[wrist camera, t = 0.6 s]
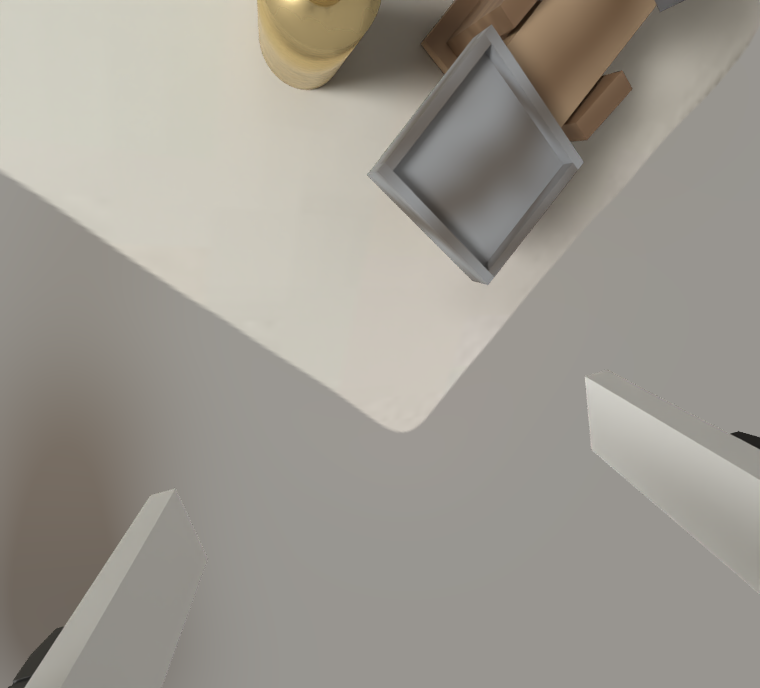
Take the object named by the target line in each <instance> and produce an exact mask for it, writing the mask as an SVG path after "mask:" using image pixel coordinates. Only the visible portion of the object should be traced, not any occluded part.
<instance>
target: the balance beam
mask: <svg viewBox="0 0 760 688" xmlns="http://www.w3.org/2000/svg"><path fill="white" fill-rule="evenodd" d="M682 1H684V0H538V1H537V2H536V3H535V4H534V5H533V7H532V8H531V9H530V10H529V11H528V13H527V14H526V15H525V16H524V17H523V19H522V20H521V21H520V22H519V24H518V25H517V26H516V27H515V28H514V29H512V30H511V31H510V33H509V34H508V35H507V37H506V38H505V39H504V40H502V39H501V37H500V36H499V34H498V33H497V31H496V30H495V28H494V27H493V25H492V24H491V25H490V26H489V27H487V28H486V29H485V30H483V31H482V32H480V33H479V34H478V35H476V36H475V37H474V38H473V39H472V40H471V41H470V42H469V44H468V45H467V46H466V48H465V49H464V50H463V51H462V53H461V54H460V55H459V57H458V58H457V59H456V61H455V62H454V63H453V64H452V66H451V67H450V68H449V70H448V71H447V72H446V73H445V75H444V76H443V77H442V79H441V80H440V81H439V83H438V84H437V85H436V86H435V88H434V89H433V90H432V92H431V93H430V94H429V95H428V97H427V98H426V99H425V101H424V102H423V103H422V105H421V106H420V107H419V108H418V110H417V111H416V112H415V114H414V115H413V116H412V117H411V119H410V120H409V121H408V123H407V124H406V125H405V126H404V128H403V129H402V130H401V132H400V133H399V134H398V136H397V137H396V138H395V139H394V141H393V142H392V143H391V145H390V146H389V147H388V148H387V150H386V151H385V152H384V154H383V155H382V156H381V158H380V159H379V160H378V161H377V163H376V164H375V165H374V167H373V168H372V169H371V170H370V172H369V173H368V174H367V176H368V177H369V178H370V179H371V180H372V181H373V182H374V183H375V184H376V185H377V186H378V187H379V188H380V189H381V190H382V191H383V192H384V193H385V194H386V195H387V196H388V197H389V198H390V199H391V200H392V201H393V202H394V203H395V204H396V205H397V206H398V207H399V208H400V209H401V210H402V211H403V212H404V213H405V214H406V215H407V216H408V217H409V218H410V219H411V220H412V221H413V222H414V223H415V224H416V225H417V226H418V227H419V228H420V229H421V230H422V231H423V232H424V233H425V234H426V235H427V236H428V237H429V238H430V239H431V240H432V241H433V242H434V243H435V244H436V245H437V246H438V247H439V248H440V249H441V250H442V251H443V252H444V253H445V254H446V255H447V256H448V257H449V258H450V259H451V260H452V261H453V262H454V263H455V264H456V265H457V266H458V267H459V268H460V269H461V270H462V271H463V272H464V273H465V274H466V275H467V276H468V277H469V278H470V279H471V280H472V281H475V282H479V283H483V284H487V285H488V284H489V283H490V282H491V281H492V279H493V278H494V277H495V276H496V274H497V273H498V272H499V270H500V269H501V268H502V267H503V265H504V264H505V263H506V261H507V260H508V259H509V258H510V256H511V255H512V254H513V252H514V251H515V250H516V249H517V247H518V246H519V245H520V243H521V242H522V241H523V240H524V238H525V237H526V236H527V234H528V233H529V232H530V231H531V229H532V228H533V227H534V226H535V224H536V223H537V222H538V220H539V219H540V218H541V217H542V215H543V214H544V213H545V211H546V210H547V209H548V208H549V206H550V205H551V204H552V202H553V201H554V200H555V199H556V197H557V196H558V195H559V193H560V192H561V191H562V190H563V188H564V187H565V186H566V185H567V183H568V182H569V181H570V179H571V178H572V177H573V176H574V174H575V173H576V172H577V170H578V169H579V168H580V167H581V165H582V164H583V163H584V162H583V160H582V159H581V157H580V156H579V154H578V153H577V151H576V150H575V148H574V147H573V145H572V144H571V142H570V141H569V139H568V138H567V136H566V135H565V133H564V132H563V130H562V129H561V127H562V126H563V125H564V123H565V122H566V121H567V119H568V118H569V117H570V116H571V114H572V113H573V112H574V110H575V109H576V108H577V107H578V105H579V104H580V103H581V102H582V100H583V99H584V98H585V96H586V95H587V94H588V93H589V91H590V90H591V89H592V87H593V86H594V85H595V84H596V82H597V81H598V80H599V78H600V77H601V76H602V75H603V73H604V72H605V71H606V69H607V68H608V67H609V66H610V64H611V63H612V62H613V60H614V59H615V58H616V57H617V55H618V54H619V53H620V51H621V50H622V49H623V48H624V46H625V45H626V44H627V42H628V41H629V40H630V39H631V37H632V36H633V35H634V33H635V32H636V31H637V30H638V28H639V27H640V26H641V24H642V23H643V22H644V21H645V19H646V18H647V17H648V15H649V14H650V13H651V12H652V10H653V9H654V8H655V6H656V5H657V7H658V9H659V11H660V12H661V11H663V10H665V9H667V8H669V7H672V6H674V5H676V4H678V3H680V2H682Z"/></svg>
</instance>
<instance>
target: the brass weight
mask: <svg viewBox="0 0 760 688" xmlns="http://www.w3.org/2000/svg"><path fill="white" fill-rule="evenodd" d="M380 3H381V0H257V6H258V27H259V42H260V47H261V50H262V54H263V56H264V59H265V61H266V63H267V64H268V66H269V67H270V69H271V70H272V72H273V73H274V74H275V75H276V76H277V77H278V78H279V79H280V80H281V81H283V82H284V83H286V84H288V85H290V86H292V87H294V88H298V89H305V90H308V89H315V88H318V87H320V86H322V85H324V84H326V83H327V82H328V81H329V80H330V79H331V78H332V77H333V76H334V75H335V73H336V72H337V70H338V69H339V68H340V66H341V65H342V64H343V62H344V61H345V60H346V58H347V57H348V56H349V54H350V53H351V52H352V50H353V49H354V48H355V46H356V45H357V44H358V42H359V41H360V40H361V38H362V37H363V36H364V34H365V33H366V32H367V30H368V29H369V27H370V26H371V24H372V23H373V21H374V19H375V17H376V15H377V12H378V10H379V7H380Z"/></svg>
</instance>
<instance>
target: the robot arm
mask: <svg viewBox="0 0 760 688" xmlns="http://www.w3.org/2000/svg"><path fill="white" fill-rule="evenodd" d="M585 384H586V395H587V407H588V418H589V428H590V440H591V450H592V451H593V452H595V453H596V454H597V455H598V456H599V457H600V458H601V459H603V460H604V461H605V462H606V463H607V464H609V465H610V466H611V467H612V468H613V469H614V470H615V471H617V472H618V473H619V474H620V475H621V476H622V477H624V478H625V479H626V480H627V481H628V482H629V483H631V484H632V485H633V486H634V487H635V488H637V489H638V490H639V491H640V492H641V493H642V494H643V495H645V496H646V497H647V498H648V499H649V500H650V501H652V502H653V503H654V504H655V505H656V506H658V507H659V508H660V509H661V510H662V511H663V512H664V513H666V514H667V515H668V516H669V517H670V518H671V519H673V520H674V521H675V522H676V523H677V524H678V525H680V526H681V527H682V528H683V529H684V530H685V531H686V532H688V533H689V534H690V535H691V536H692V537H693V538H695V539H696V540H697V541H698V542H699V543H700V544H702V545H703V546H704V547H705V548H706V549H707V550H709V551H710V552H711V553H712V554H713V555H714V556H716V557H717V558H718V559H719V560H720V561H721V562H723V563H724V564H725V565H726V566H727V567H729V568H730V569H731V570H732V571H733V572H734V573H735V574H737V575H738V576H739V577H740V578H741V579H742V580H743V581H745V582H746V583H747V584H748V585H749V586H751V587H752V588H753V589H754V590H755V591H756V592H758V593H759V594H760V437H757V436H753V435H750V434H746V433H743V432H739V431H738V432H735V433H731V434H729V433H727V432H725V431H723V430H722V429H720V428H717V427H716V426H714V425H712V424H710V423H708V422H706V421H704V420H702V419H700V418H699V417H697V416H694V415H693V414H691V413H689V412H687V411H685V410H683V409H681V408H679V407H678V406H676V405H674V404H672V403H670V402H668V401H666V400H664V399H662V398H660V397H658V396H657V395H655V394H653V393H651V392H649V391H647V390H645V389H643V388H641V387H639V386H637V385H636V384H634V383H632V382H630V381H628V380H626V379H624V378H622V377H620V376H618V375H616V374H614V373H613V372H611V371H609V370H605V371H602V372H598V373H594V374H591V375H587V376H585ZM207 560H208V558H207V555H206V553H205V551H204V549H203V547H202V545H201V542H200V540H199V538H198V536H197V534H196V532H195V530H194V528H193V525H192V523H191V521H190V519H189V516H188V514H187V512H186V510H185V508H184V506H183V504H182V501H181V499H180V497H179V495H178V493H177V491H176V489H172V490H168V491H165V492H161V493H157V494H154V495H150V497H149V499H148V500H147V501H146V503H145V505H144V506H143V508H142V509H141V511H140V512H139V514H138V515H137V517H136V518H135V520H134V521H133V523H132V524H131V526H130V527H129V529H128V530H127V532H126V534H125V535H124V537H123V538H122V540H121V541H120V543H119V544H118V546H117V547H116V549H115V550H114V552H113V553H112V555H111V556H110V558H109V559H108V561H107V562H106V564H105V566H104V567H103V569H102V570H101V572H100V573H99V575H98V576H97V578H96V579H95V581H94V582H93V584H92V586H91V587H90V588H89V590H88V591H87V593H86V595H85V596H84V598H83V599H82V601H81V602H80V604H79V605H78V607H77V608H76V610H75V612H74V613H73V614H72V616H71V617H70V619H69V621H68V622H67V624H66V625H65V626H64V627H60V628H57V629H55V630H54V631H53V633H51V635H49V636H48V638H47V639H46V640H45V641H44V642H43V643H42V644H41V645H40V646H39V647H38V648H37V649H36V650H35V651H34V652H33V653H32V654H31V655H30V657H29V658H28V660H27V661H26V662H25V664H24V665H23V667H22V668H21V670H20V671H19V673H18V674H17V676H16V677H15V679H14V680H13V685H12V686H9V687H8V688H162V685H163V683H164V680H165V677H166V674H167V671H168V669H169V666H170V663H171V660H172V658H173V655H174V652H175V649H176V646H177V644H178V641H179V638H180V635H181V633H182V630H183V627H184V624H185V621H186V619H187V616H188V613H189V610H190V607H191V605H192V602H193V599H194V596H195V594H196V591H197V588H198V585H199V582H200V580H201V577H202V574H203V571H204V569H205V566H206V563H207Z"/></svg>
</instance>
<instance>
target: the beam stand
mask: <svg viewBox="0 0 760 688" xmlns="http://www.w3.org/2000/svg"><path fill="white" fill-rule="evenodd" d="M537 1H538V0H455V1H454V2H453V3H452V5H451V6H450V7H449V8H448V10H447V11H446V12H445V14H444V15H443V16H442V17H441V19H440V20H439V21H438V22H437V24H436V25H435V26H434V27H433V29H432V30H431V31H430V32H429V34H428V35H427V36H426V37H425V39H424V40H423V41H422V43H421V45H422V46H423V47H424V49H425V50H426V51H427V53H428V54H429V55H430V57H431V58H432V59H433V60H434V62H435V63H436V64H437V66H438V67H439V68H440V69H441V71H442V72H443V73H444V75H445V73H446V72H447V71H448V70H449V68H450V67H451V66H452V64H453V63H454V62H455V61H456V59H457V58H458V57H459V55H460V54H461V53H462V51H463V50H464V49H465V48H466V46H467V45H468V44H469V42H470V41H471V40H472V39H473V38H474V37H475V36H476V35H478V34H479V33H480V32H482V31H483V30H485V29H486V28H487V27H489V26H490V25H491V24H492V25H493V27H494V28H495V30H496V31H497V33H498V34H499V36H500V37H501V39H502V40H504V39H505V38H506V37H507V35H508V34H509V33H510V31H511V30H512V29H514V28H515V27H516V26H517V25H518V24H519V22H520V21H521V20H522V19H523V17H524V16H525V15H526V14H527V13H528V11H529V10H530V9H531V8H532V7H533V5H534V4H535V3H536V2H537ZM631 90H632V87H631V85H630V83H629V82H628V80H627V78H626V76H625V74H624V72H623V71H619V72H615V73H611V74H608V75H604V76H601V77H600V78H599V80H598V81H597V82H596V84H595V85H594V86H593V87H592V89H591V90H590V91H589V93H588V94H587V95H586V96H585V98H584V99H583V100H582V102H581V103H580V104H579V105H578V107H577V108H576V109H575V110H574V112H573V113H572V114H571V116H570V117H569V118H568V119H567V121H566V122H565V123H564V125H563V126H562V127H561V129H562V130H563V132H564V133H565V135H566V136H567V138H568V139H569V141H570V142H571V141H582V140H587V139H588V138H589V137H590V136H591V135H592V134H593V133H594V132H595V130H596V129H597V128H598V127H599V126H600V125H601V124H602V123H603V121H604V120H605V119H606V118H607V117H608V116H609V115H610V114H611V112H612V111H613V110H614V109H615V108H616V107H617V106H618V105H619V104H620V102H621V101H622V100H623V99H624V98H625V97H626V96H627V95H628V93H629V92H630V91H631Z"/></svg>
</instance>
